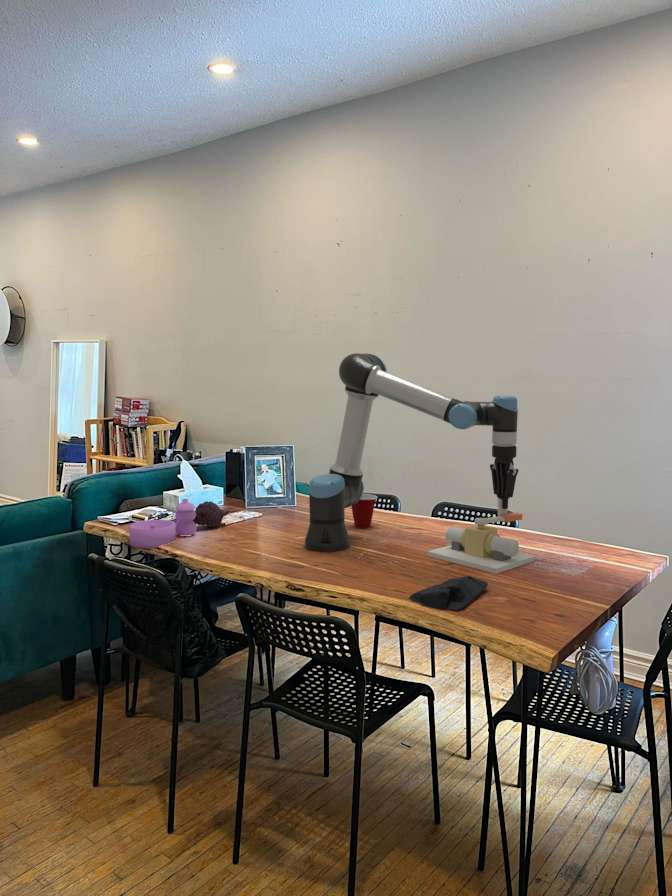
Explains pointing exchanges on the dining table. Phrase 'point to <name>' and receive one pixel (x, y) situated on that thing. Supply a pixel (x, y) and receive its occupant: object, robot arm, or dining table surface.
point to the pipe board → (482, 562)
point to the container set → (163, 528)
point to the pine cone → (209, 514)
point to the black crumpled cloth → (450, 593)
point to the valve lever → (499, 518)
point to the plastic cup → (364, 510)
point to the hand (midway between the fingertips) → (502, 518)
